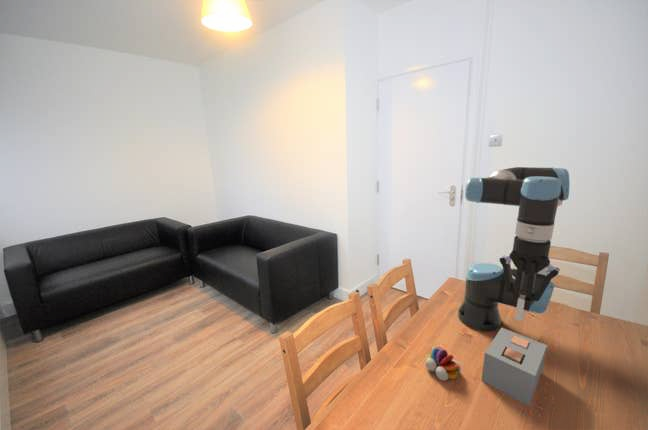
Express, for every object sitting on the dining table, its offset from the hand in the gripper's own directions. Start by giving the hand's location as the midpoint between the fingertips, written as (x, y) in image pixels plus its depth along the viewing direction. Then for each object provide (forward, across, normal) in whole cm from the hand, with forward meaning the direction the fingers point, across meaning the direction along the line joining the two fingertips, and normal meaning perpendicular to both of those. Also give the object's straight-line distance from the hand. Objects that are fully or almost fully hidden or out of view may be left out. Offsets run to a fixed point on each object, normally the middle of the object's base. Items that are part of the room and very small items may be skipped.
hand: (519, 318), depth 77 cm
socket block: (+22, 0, +3) cm, 22 cm away
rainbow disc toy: (+23, -16, -9) cm, 29 cm away
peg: (+22, 0, 0) cm, 22 cm away
